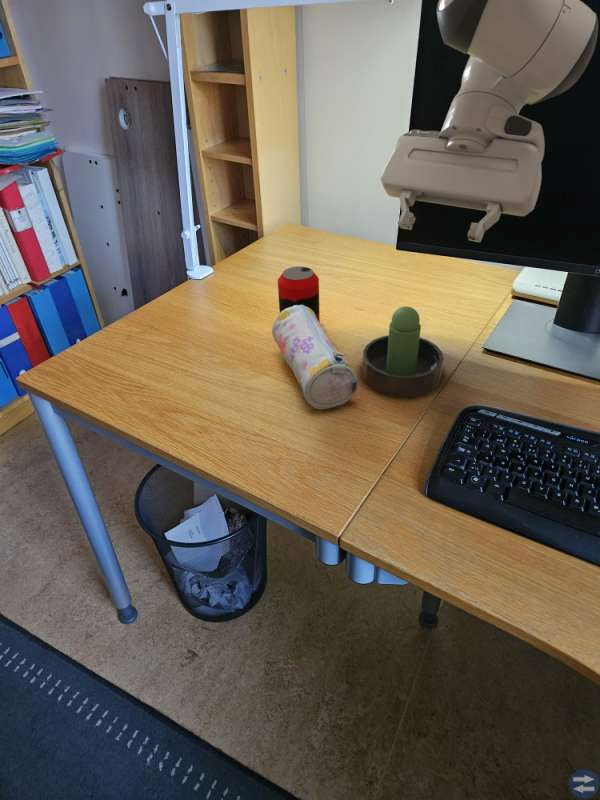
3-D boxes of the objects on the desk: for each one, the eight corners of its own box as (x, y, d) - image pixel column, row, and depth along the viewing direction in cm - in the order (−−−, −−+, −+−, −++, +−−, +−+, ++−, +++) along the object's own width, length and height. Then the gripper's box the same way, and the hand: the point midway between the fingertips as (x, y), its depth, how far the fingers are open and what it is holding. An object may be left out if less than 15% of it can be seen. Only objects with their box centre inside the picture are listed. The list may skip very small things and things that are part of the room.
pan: (447, 361, 98) (450, 341, 96) (431, 404, 89) (434, 384, 86) (374, 348, 102) (375, 329, 100) (352, 388, 93) (352, 368, 90)
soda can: (327, 329, 108) (327, 271, 101) (301, 345, 104) (298, 286, 97) (299, 316, 113) (297, 260, 105) (272, 331, 108) (268, 274, 101)
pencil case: (359, 407, 89) (361, 357, 83) (307, 419, 87) (305, 369, 81) (316, 342, 105) (315, 296, 99) (271, 351, 103) (267, 305, 97)
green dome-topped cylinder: (418, 366, 96) (426, 303, 89) (411, 382, 93) (418, 318, 85) (390, 361, 98) (395, 298, 91) (382, 377, 94) (387, 312, 87)
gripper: (396, 114, 75) (359, 209, 74) (555, 126, 65) (514, 235, 65) (408, 142, 80) (373, 231, 80) (556, 157, 71) (518, 258, 70)
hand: (437, 233), depth 72 cm, fingers open, 8 cm apart
